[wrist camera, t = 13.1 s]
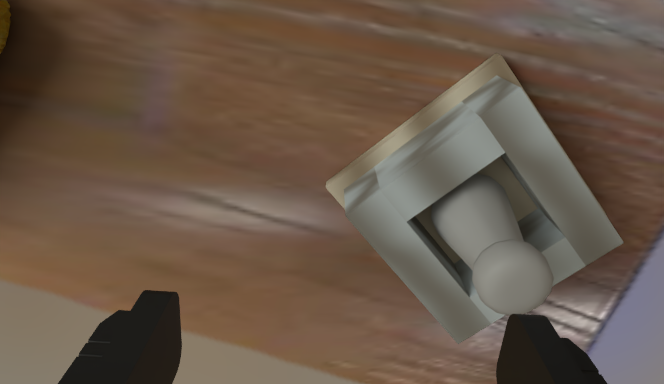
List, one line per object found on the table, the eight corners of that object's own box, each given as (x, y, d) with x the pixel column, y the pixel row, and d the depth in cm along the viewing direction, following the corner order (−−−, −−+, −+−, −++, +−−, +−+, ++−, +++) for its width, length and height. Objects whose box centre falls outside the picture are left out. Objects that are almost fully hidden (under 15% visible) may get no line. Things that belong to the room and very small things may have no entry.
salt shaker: (473, 149, 38) (540, 222, 26) (513, 202, 39) (593, 295, 27) (410, 194, 39) (446, 284, 27) (451, 244, 41) (502, 350, 29)
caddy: (495, 53, 36) (527, 64, 30) (599, 208, 41) (643, 244, 35) (326, 182, 40) (325, 214, 34) (438, 311, 45) (454, 358, 39)
